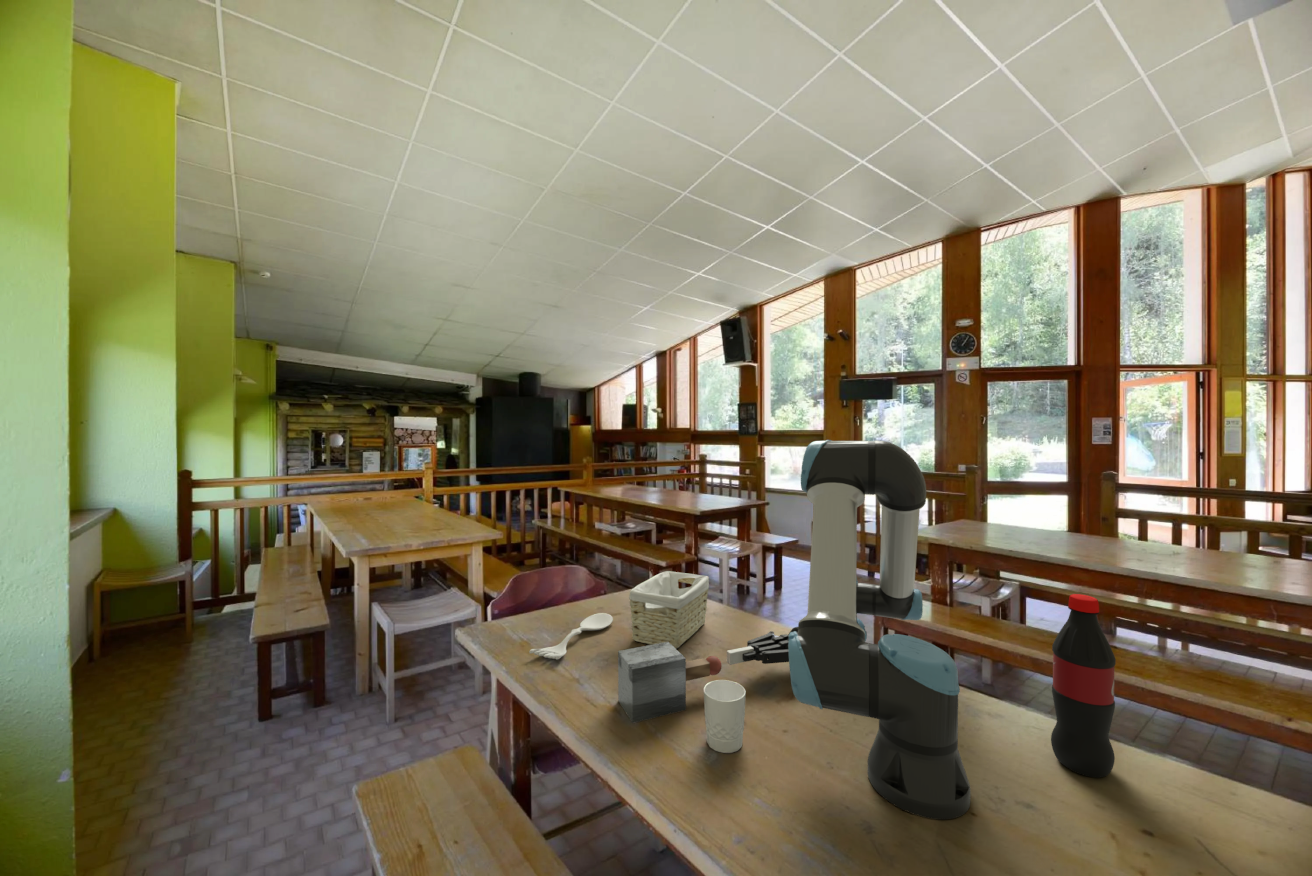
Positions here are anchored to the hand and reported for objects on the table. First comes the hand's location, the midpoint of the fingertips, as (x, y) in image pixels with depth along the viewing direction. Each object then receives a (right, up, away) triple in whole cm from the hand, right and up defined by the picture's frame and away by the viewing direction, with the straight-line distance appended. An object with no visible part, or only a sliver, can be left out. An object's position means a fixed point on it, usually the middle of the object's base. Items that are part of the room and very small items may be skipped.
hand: (728, 657), depth 116 cm
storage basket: (-12, -6, +31) cm, 33 cm away
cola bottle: (+58, -7, -28) cm, 65 cm away
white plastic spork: (-39, -7, +25) cm, 47 cm away
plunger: (-8, -3, -4) cm, 10 cm away
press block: (-18, -7, -8) cm, 21 cm away
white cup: (-4, -7, -21) cm, 22 cm away
